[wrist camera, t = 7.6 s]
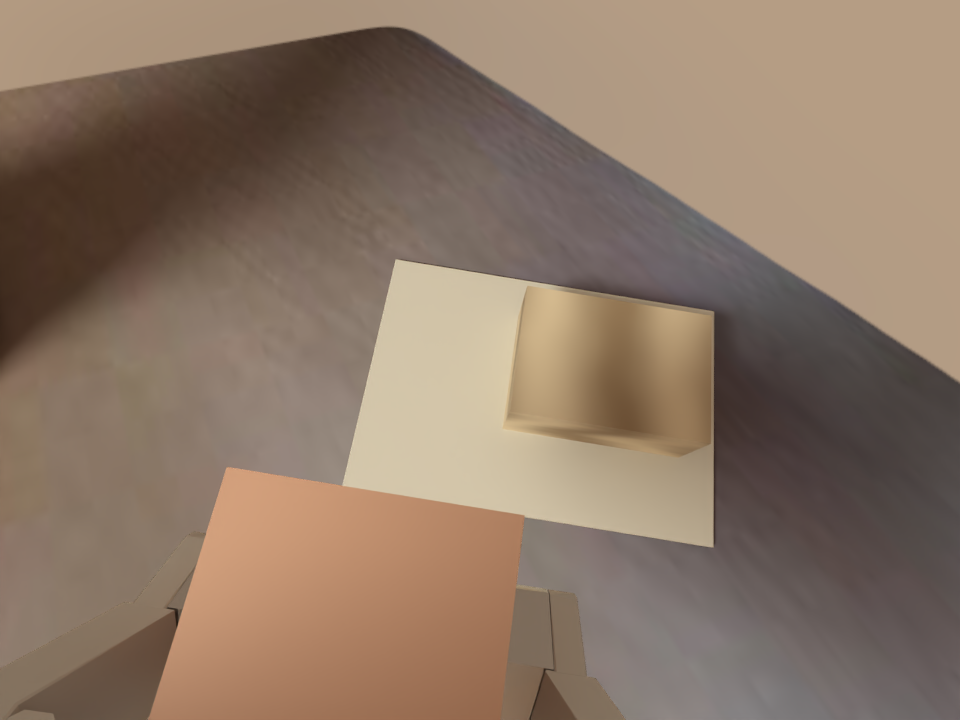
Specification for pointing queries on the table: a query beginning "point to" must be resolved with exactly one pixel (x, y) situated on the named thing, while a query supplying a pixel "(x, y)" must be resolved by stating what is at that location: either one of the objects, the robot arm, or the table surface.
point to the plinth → (610, 373)
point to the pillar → (343, 607)
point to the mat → (480, 414)
